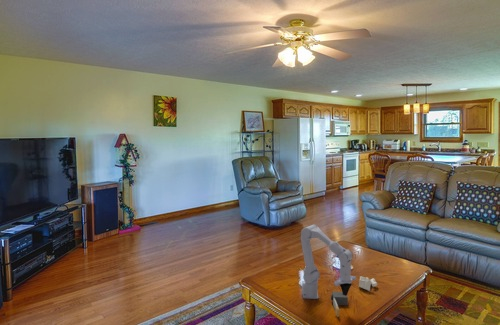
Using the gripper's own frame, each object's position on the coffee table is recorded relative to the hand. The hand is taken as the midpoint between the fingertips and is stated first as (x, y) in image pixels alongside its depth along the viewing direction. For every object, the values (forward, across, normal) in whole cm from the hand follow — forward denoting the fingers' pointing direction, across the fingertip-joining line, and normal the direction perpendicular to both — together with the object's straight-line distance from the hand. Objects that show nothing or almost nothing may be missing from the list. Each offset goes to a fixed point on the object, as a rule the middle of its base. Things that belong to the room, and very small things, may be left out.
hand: (344, 294), depth 170 cm
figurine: (+5, +25, +10) cm, 28 cm away
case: (+9, +4, +7) cm, 12 cm away
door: (+9, -5, +2) cm, 11 cm away
